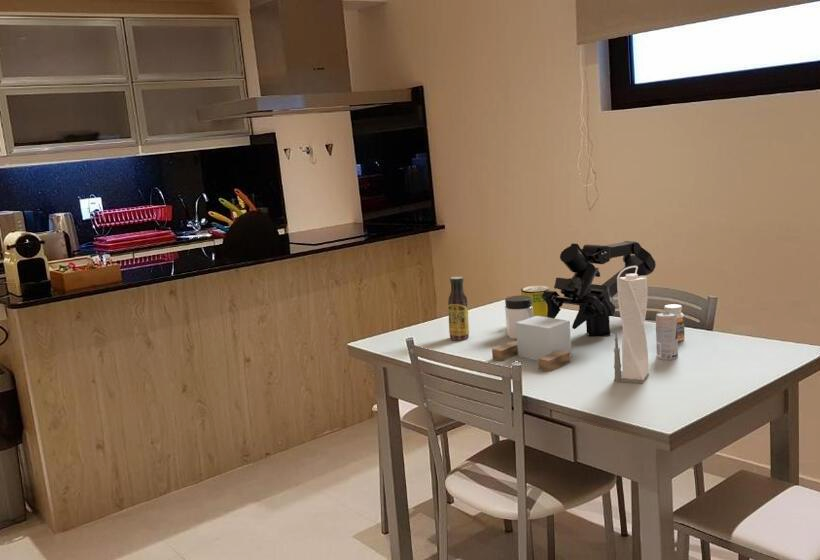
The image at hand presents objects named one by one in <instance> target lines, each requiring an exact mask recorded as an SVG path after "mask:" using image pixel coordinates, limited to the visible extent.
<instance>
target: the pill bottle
mask: <svg viewBox="0 0 820 560" xmlns="http://www.w3.org/2000/svg"><path fill="white" fill-rule="evenodd" d="M682 310H683V307H682V305H681V304H676V303H673V304H672V303H671V304H669V303H668V304H665V305H664V312H673V313H676V316H677V338H678V342H682V341H683V340H684V339H685V315H684V313H683V312H682Z"/></svg>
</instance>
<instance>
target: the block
mask: <svg viewBox="0 0 820 560" xmlns="http://www.w3.org/2000/svg"><path fill="white" fill-rule="evenodd" d="M516 333H517V339H516V342H517V347H518V355H517V356H518V357H521V358H525V359H529V360H534V361H538V359H539V358H541V357H544V356H546V355H549V354H551V353H554V352H556V351H559V350H561V351H566V352H570V356H572V355H573V354H572V339H571V337H572V336H571V323H570V320H568V319H567V320H566V319H559V318H556V317H555V318H548V317H542V316H534V317H531V318H528V319H525V320H522V321H519V322H517V323H516Z"/></svg>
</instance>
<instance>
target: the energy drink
mask: <svg viewBox="0 0 820 560" xmlns="http://www.w3.org/2000/svg"><path fill="white" fill-rule="evenodd" d="M655 339H656V340H655V341H656V357H657V358H658V359H659V360H662V361H672V360H677V358H679V357H678V356H679V347H678V346H679V343H678V342H679V341H678V338H677V316H676V313H673V312H666V311H662V312H661V311H660V312H657V313H656V315H655Z"/></svg>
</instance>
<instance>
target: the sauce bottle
mask: <svg viewBox="0 0 820 560" xmlns="http://www.w3.org/2000/svg"><path fill="white" fill-rule="evenodd" d="M449 280H450V281H449V282H450V288H451V290H450V294H449V296H448V299H447V301H448V302H447V303H448V305H447V308H448V309H447V310H448V315H447V316H448V331H449V338H450V339H451V340H452V341H464V340H467V339H468V338H469V336H470V327H469V326H470V325H469V307H468V298H467V296H466V294H465V293H464V278H463V276H450V279H449Z"/></svg>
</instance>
